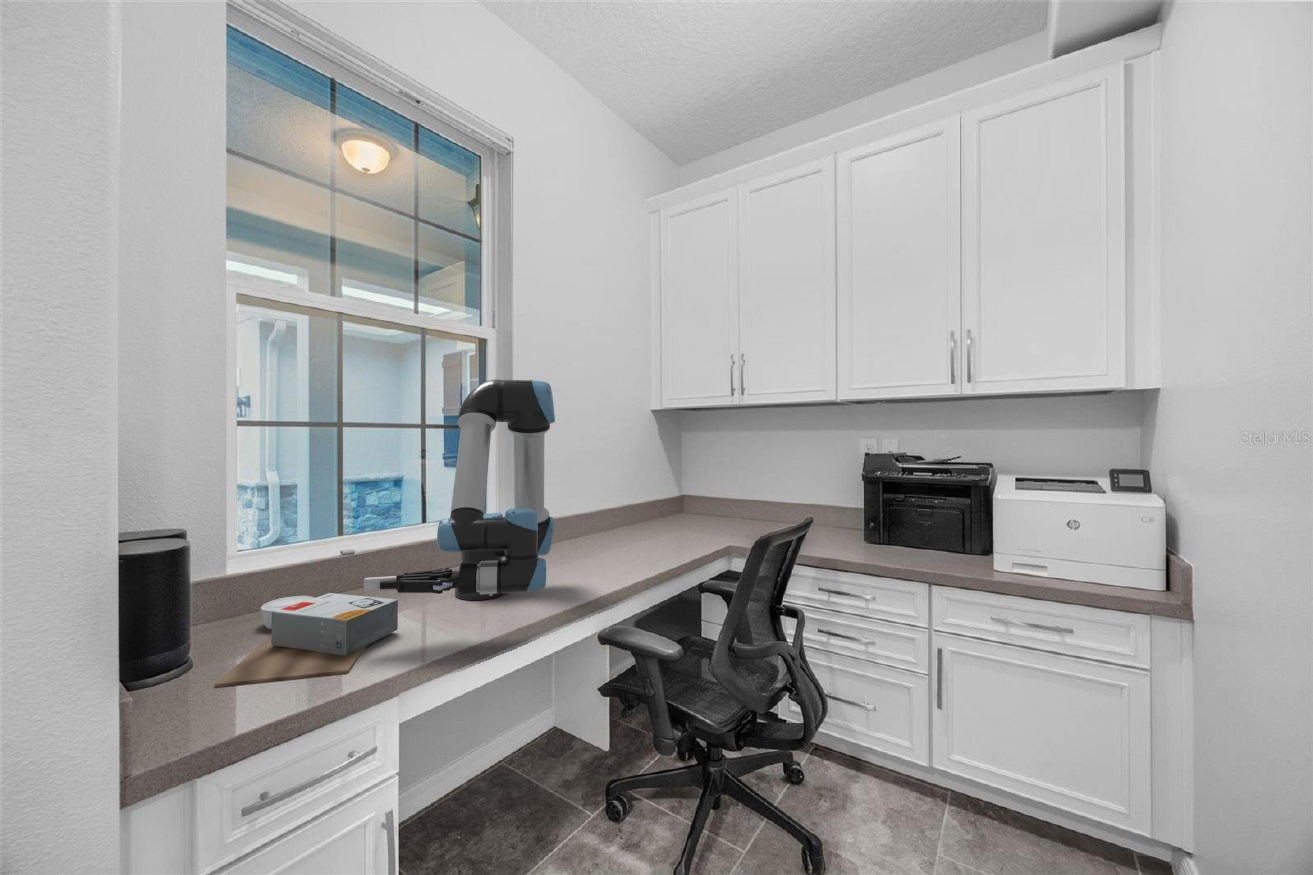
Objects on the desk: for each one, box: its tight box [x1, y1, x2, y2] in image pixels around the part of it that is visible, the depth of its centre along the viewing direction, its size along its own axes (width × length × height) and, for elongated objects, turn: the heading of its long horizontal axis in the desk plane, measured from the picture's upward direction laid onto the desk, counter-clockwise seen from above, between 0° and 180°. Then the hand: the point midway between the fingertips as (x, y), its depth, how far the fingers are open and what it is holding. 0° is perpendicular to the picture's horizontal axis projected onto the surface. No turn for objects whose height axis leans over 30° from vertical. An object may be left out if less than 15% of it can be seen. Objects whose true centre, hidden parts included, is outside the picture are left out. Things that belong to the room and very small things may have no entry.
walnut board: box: [214, 635, 367, 688], centre depth 111 cm, size 22×24×1 cm
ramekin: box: [260, 595, 315, 630], centre depth 129 cm, size 11×11×5 cm
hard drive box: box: [270, 592, 399, 656], centre depth 118 cm, size 16×8×20 cm
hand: (365, 584), depth 114 cm, fingers closed
